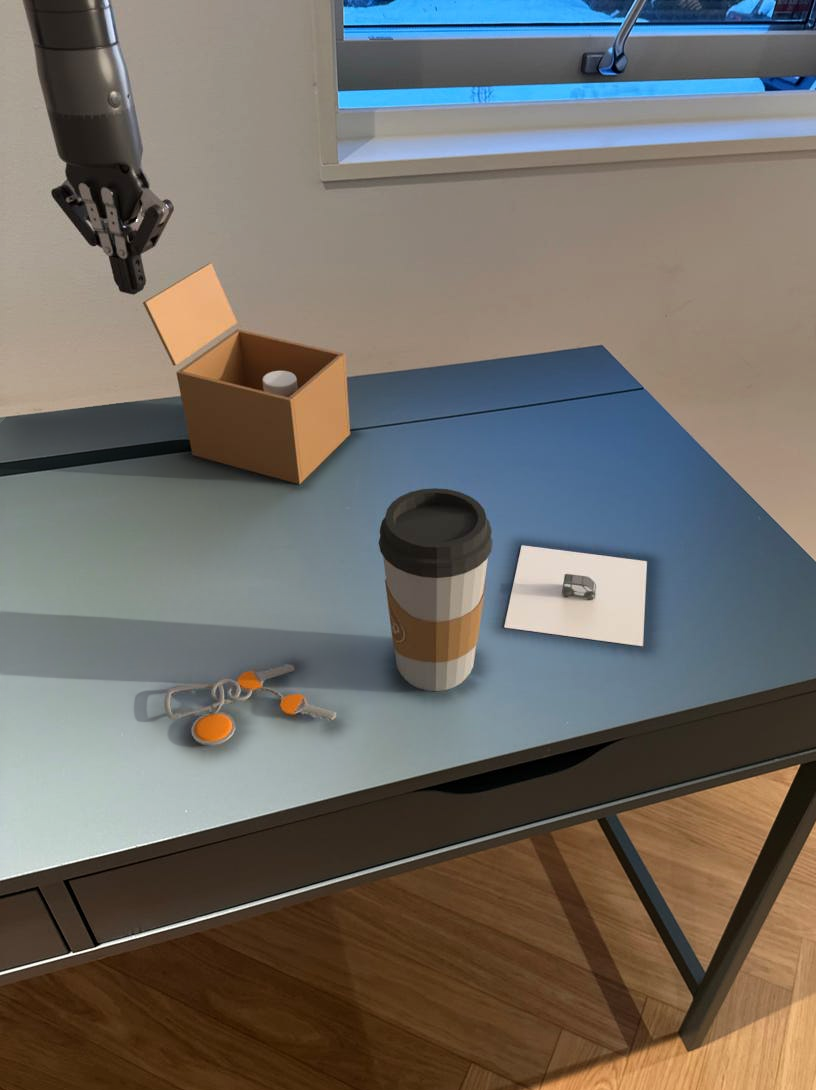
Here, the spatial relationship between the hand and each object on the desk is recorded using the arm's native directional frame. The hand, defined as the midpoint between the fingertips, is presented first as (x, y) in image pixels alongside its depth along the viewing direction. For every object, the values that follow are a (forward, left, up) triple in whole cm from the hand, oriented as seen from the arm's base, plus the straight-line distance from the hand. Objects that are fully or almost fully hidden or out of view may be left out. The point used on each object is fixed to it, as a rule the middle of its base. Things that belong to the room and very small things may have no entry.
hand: (132, 290), depth 96 cm
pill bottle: (+17, 0, -14) cm, 22 cm away
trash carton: (+15, 0, -14) cm, 20 cm away
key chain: (+33, -34, -14) cm, 50 cm away
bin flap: (+7, 0, -1) cm, 7 cm away
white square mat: (+53, -10, -14) cm, 56 cm away
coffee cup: (+45, -24, -14) cm, 53 cm away
